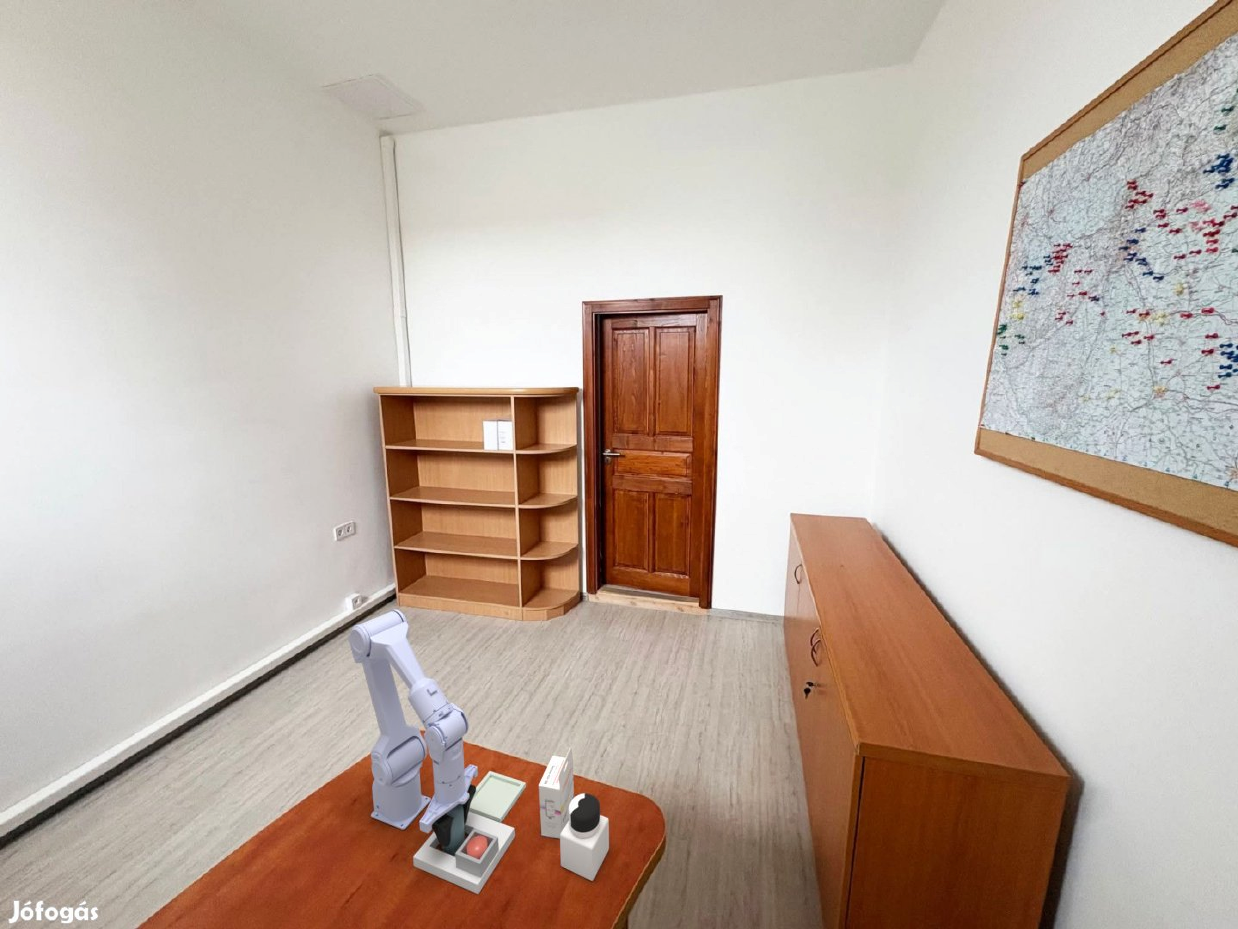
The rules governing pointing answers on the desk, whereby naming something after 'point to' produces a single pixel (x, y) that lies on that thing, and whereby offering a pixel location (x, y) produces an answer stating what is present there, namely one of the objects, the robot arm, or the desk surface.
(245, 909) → the desk surface
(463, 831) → the cylinder
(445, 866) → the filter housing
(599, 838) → the medicine bottle
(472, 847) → the release plunger
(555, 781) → the ink cartridge box
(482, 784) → the tray
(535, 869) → the desk surface
